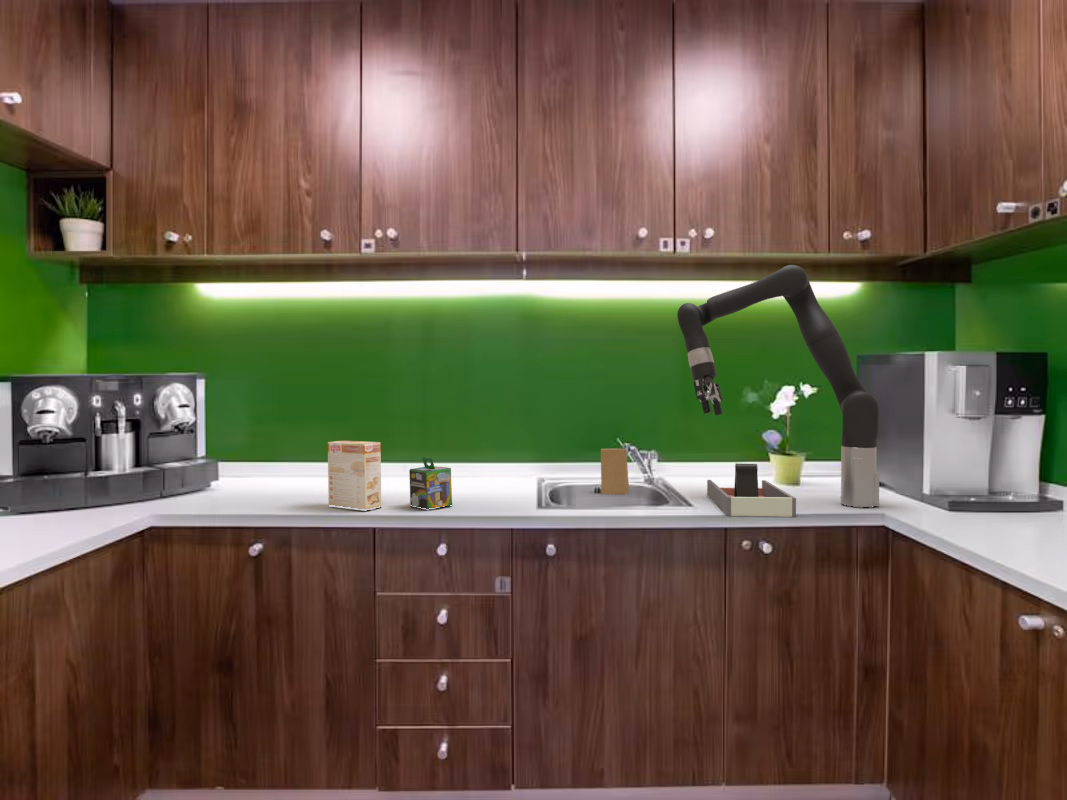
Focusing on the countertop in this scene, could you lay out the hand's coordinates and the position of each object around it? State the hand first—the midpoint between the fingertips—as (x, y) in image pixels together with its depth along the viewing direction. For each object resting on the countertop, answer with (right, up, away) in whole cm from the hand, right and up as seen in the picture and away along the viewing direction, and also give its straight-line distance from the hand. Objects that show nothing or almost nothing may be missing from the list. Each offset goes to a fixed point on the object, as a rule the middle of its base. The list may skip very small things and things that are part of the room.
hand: (713, 414), depth 200 cm
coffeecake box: (-108, -28, -10) cm, 112 cm away
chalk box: (-86, -27, -10) cm, 91 cm away
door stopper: (+7, -27, -8) cm, 29 cm away
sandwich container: (-28, -26, +18) cm, 43 cm away
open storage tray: (+7, -27, -10) cm, 29 cm away
